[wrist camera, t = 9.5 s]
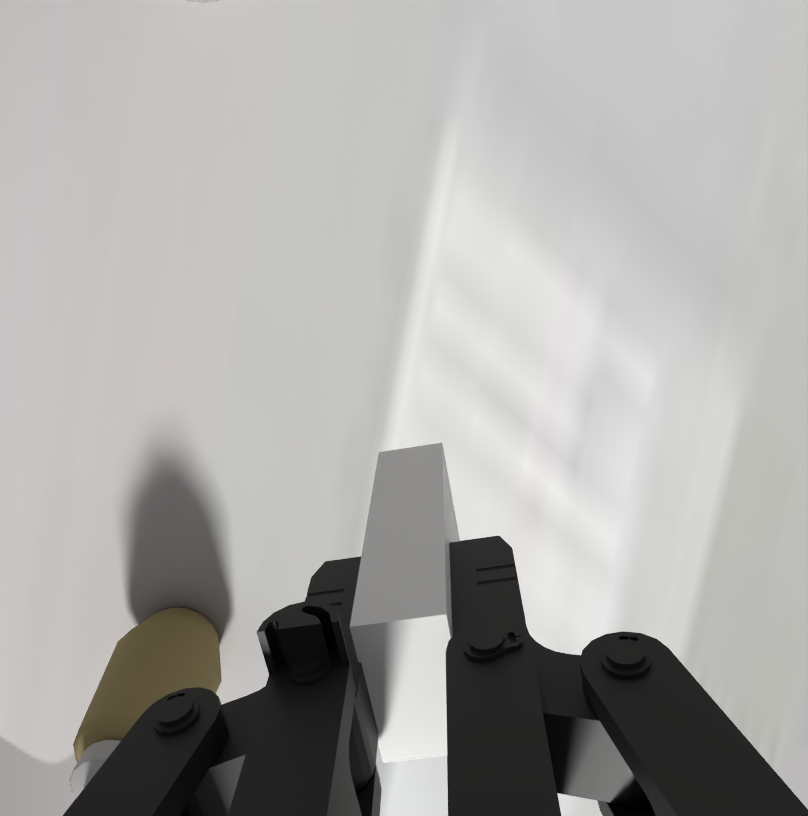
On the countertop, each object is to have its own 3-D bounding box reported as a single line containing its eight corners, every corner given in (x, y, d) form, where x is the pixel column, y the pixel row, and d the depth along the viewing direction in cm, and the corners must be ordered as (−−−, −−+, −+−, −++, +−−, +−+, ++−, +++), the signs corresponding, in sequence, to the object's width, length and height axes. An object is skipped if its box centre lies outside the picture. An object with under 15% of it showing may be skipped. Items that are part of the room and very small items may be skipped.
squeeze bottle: (241, 605, 58) (160, 804, 41) (226, 689, 61) (145, 907, 44) (135, 583, 57) (10, 774, 41) (126, 668, 60) (5, 879, 43)
